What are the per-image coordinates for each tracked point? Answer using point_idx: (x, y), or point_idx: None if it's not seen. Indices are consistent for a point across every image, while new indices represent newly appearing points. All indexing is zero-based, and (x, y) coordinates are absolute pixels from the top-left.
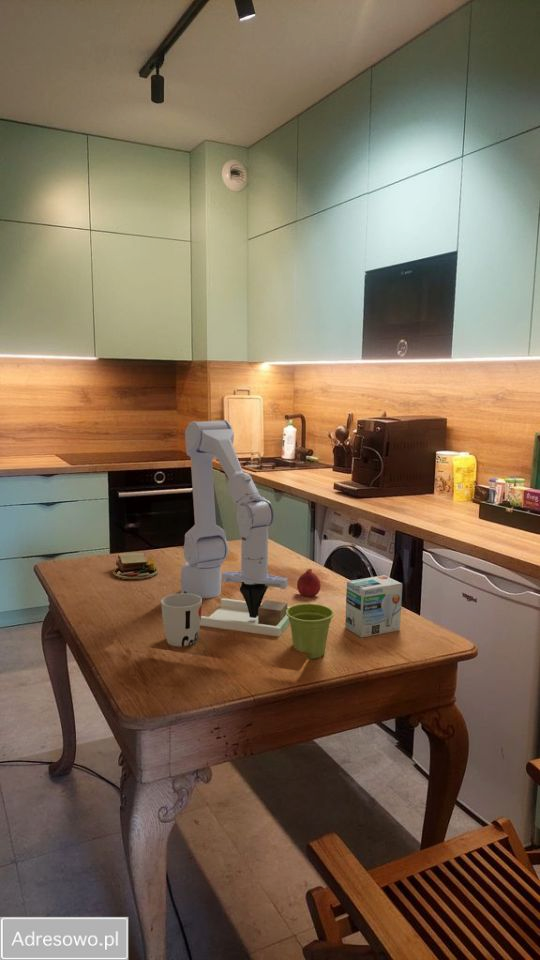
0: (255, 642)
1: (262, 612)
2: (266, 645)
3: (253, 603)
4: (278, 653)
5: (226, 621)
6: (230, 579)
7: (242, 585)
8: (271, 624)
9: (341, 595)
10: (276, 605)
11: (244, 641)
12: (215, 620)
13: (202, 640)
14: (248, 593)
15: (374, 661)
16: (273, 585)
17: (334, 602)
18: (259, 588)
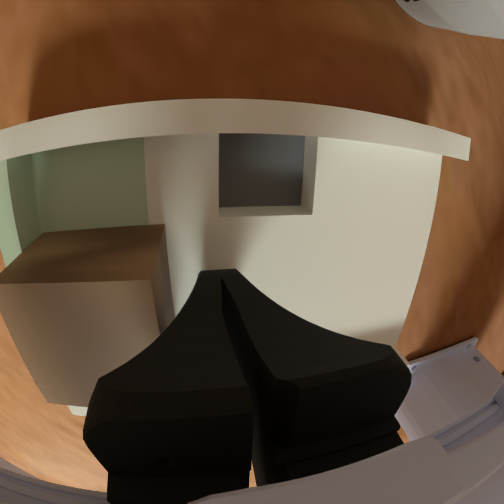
0: (132, 81)
1: (120, 261)
2: (71, 75)
3: (212, 314)
4: (11, 37)
5: (347, 108)
6: (486, 421)
7: (386, 429)
8: (80, 235)
9: (105, 489)
10: (65, 360)
11: (193, 69)
12: (406, 120)
13: (386, 42)
14: (280, 358)
15: None
16: (34, 491)
17: (91, 470)
18: (140, 453)
